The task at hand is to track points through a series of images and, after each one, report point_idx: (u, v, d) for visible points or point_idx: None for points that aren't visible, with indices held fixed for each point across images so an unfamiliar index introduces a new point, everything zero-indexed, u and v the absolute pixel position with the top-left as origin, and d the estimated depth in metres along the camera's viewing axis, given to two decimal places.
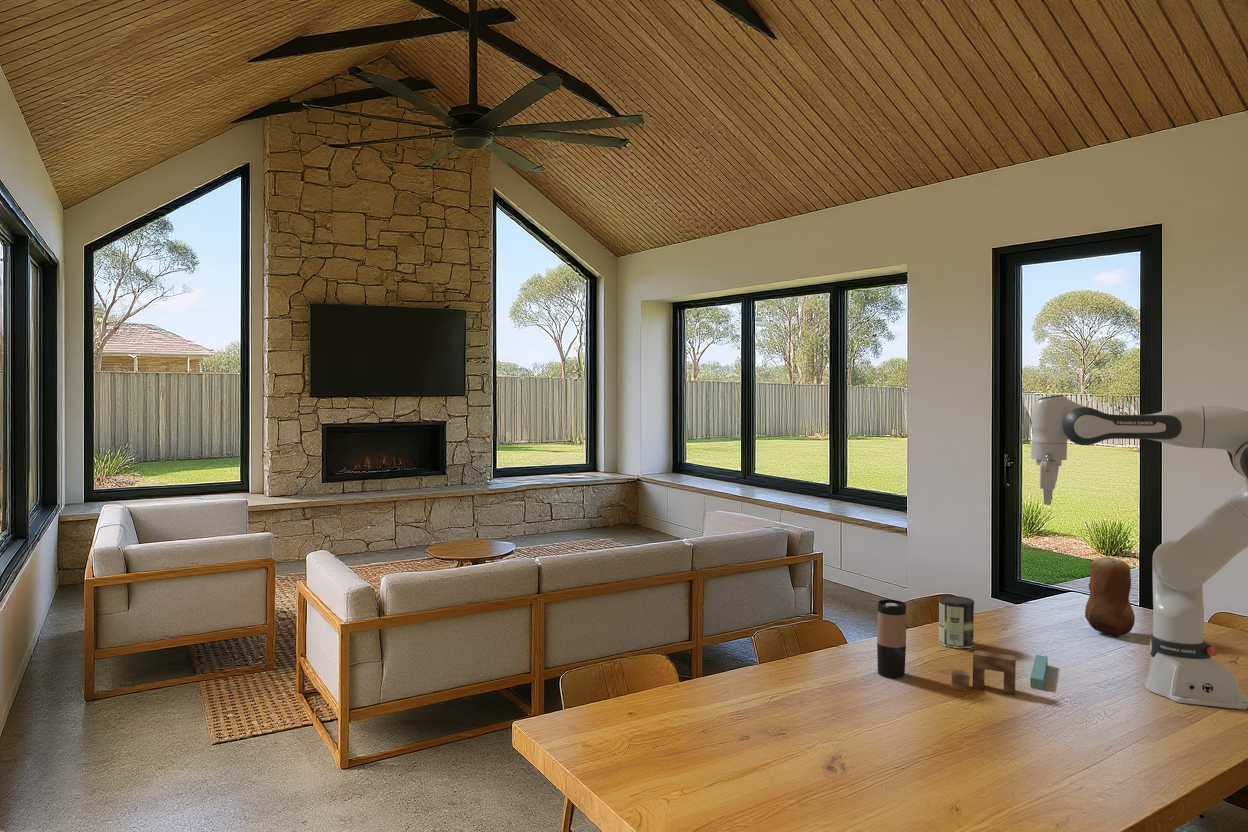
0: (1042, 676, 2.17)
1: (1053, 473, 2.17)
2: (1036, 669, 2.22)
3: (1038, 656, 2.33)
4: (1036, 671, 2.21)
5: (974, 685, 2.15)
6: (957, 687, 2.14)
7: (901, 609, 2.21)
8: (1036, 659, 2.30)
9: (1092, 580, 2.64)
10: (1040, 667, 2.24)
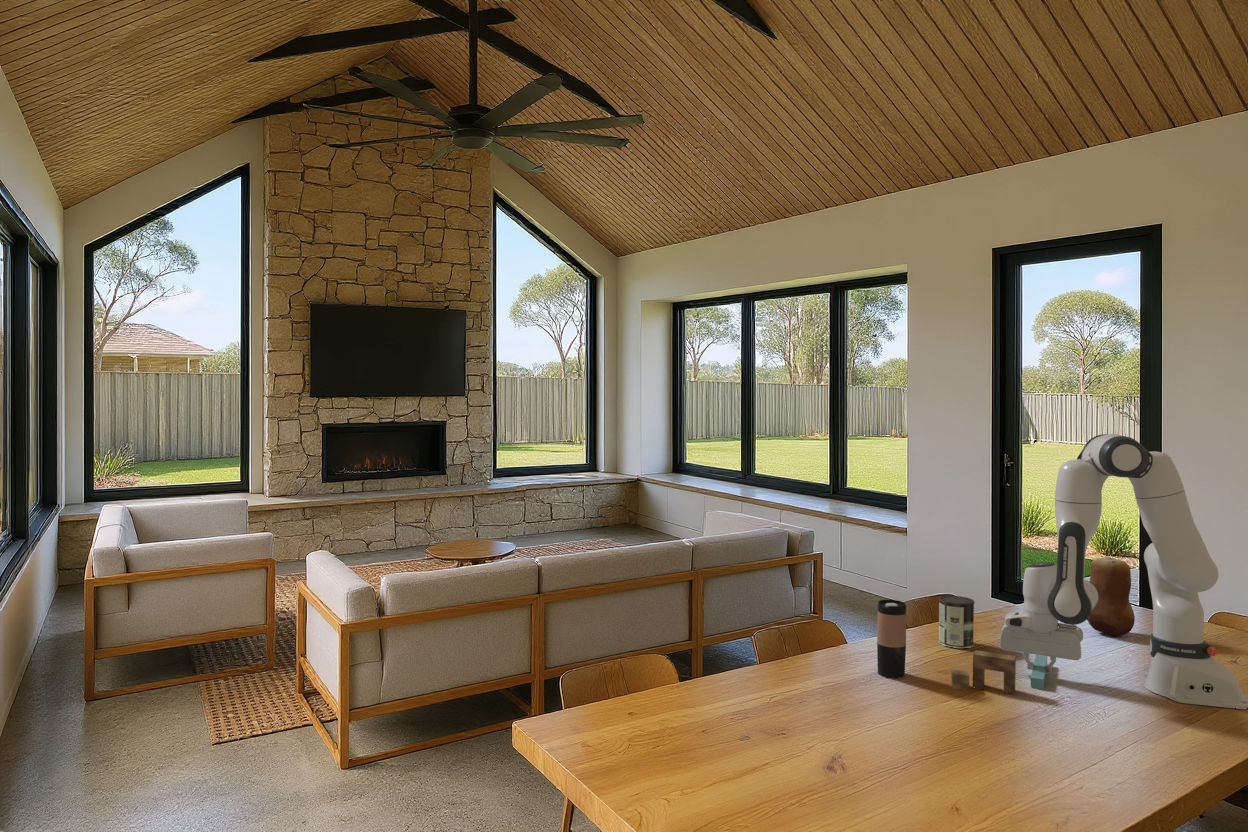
0: (1043, 676, 2.16)
1: None
2: (1036, 668, 2.22)
3: (1038, 656, 2.33)
4: (1036, 671, 2.21)
5: (974, 685, 2.15)
6: (957, 687, 2.14)
7: (901, 609, 2.21)
8: (1036, 659, 2.30)
9: (1092, 580, 2.64)
10: (1040, 667, 2.24)
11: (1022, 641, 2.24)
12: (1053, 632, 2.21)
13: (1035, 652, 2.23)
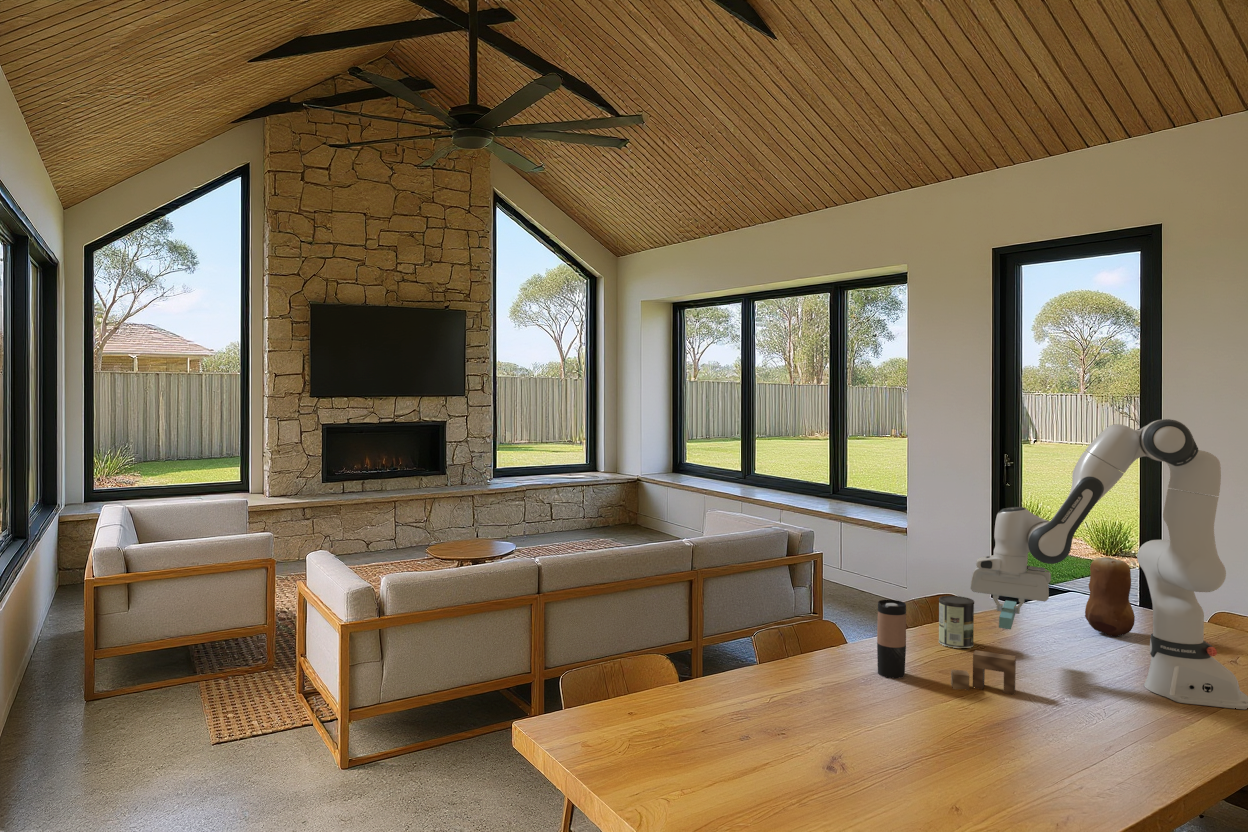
0: (1011, 616, 2.23)
1: None
2: (1005, 610, 2.28)
3: (1007, 601, 2.39)
4: (1005, 612, 2.27)
5: (974, 685, 2.15)
6: (957, 687, 2.14)
7: (901, 609, 2.21)
8: (1005, 603, 2.36)
9: (1092, 580, 2.64)
10: (1009, 609, 2.30)
11: (992, 583, 2.31)
12: (1022, 574, 2.27)
13: (1004, 593, 2.29)
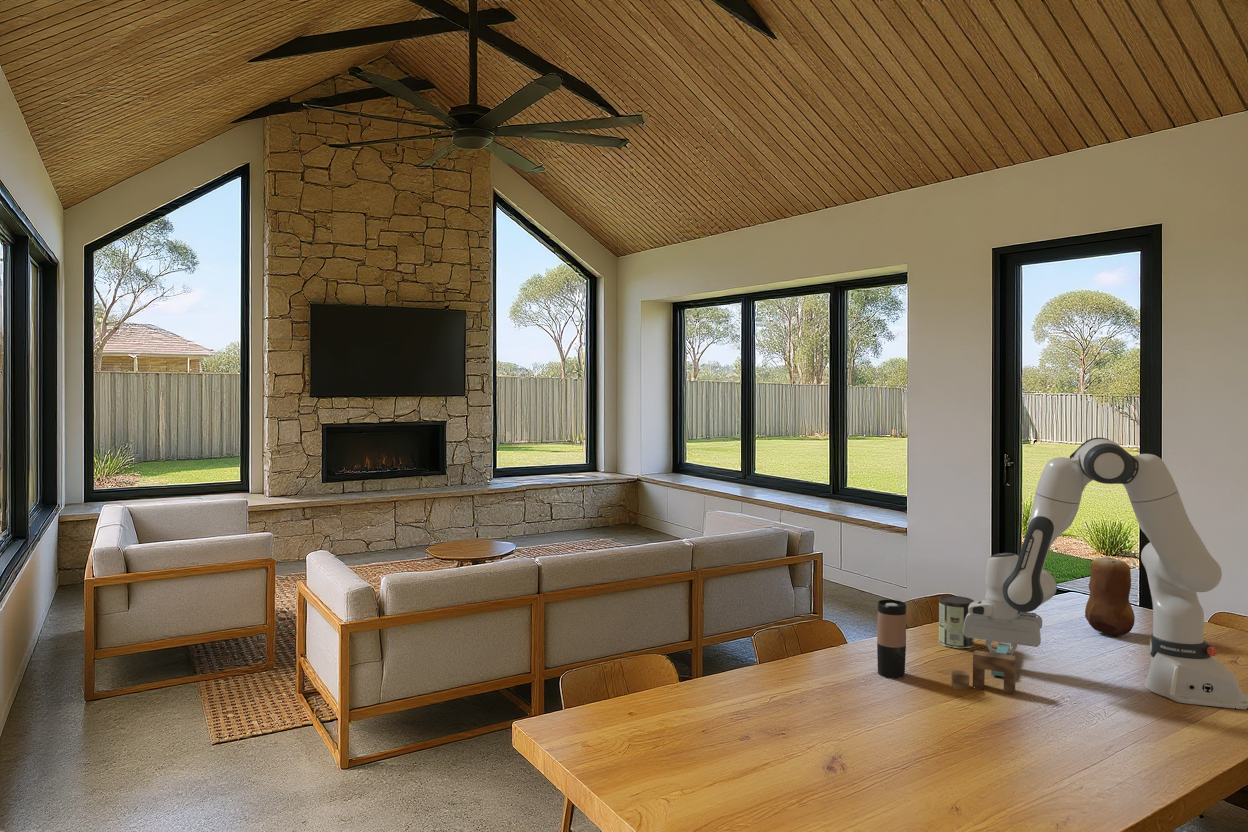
0: None
1: None
2: None
3: (1001, 644, 2.41)
4: None
5: (974, 685, 2.15)
6: (957, 687, 2.14)
7: (901, 609, 2.21)
8: (998, 647, 2.38)
9: (1092, 580, 2.64)
10: None
11: (984, 628, 2.33)
12: (1014, 620, 2.29)
13: (996, 639, 2.31)
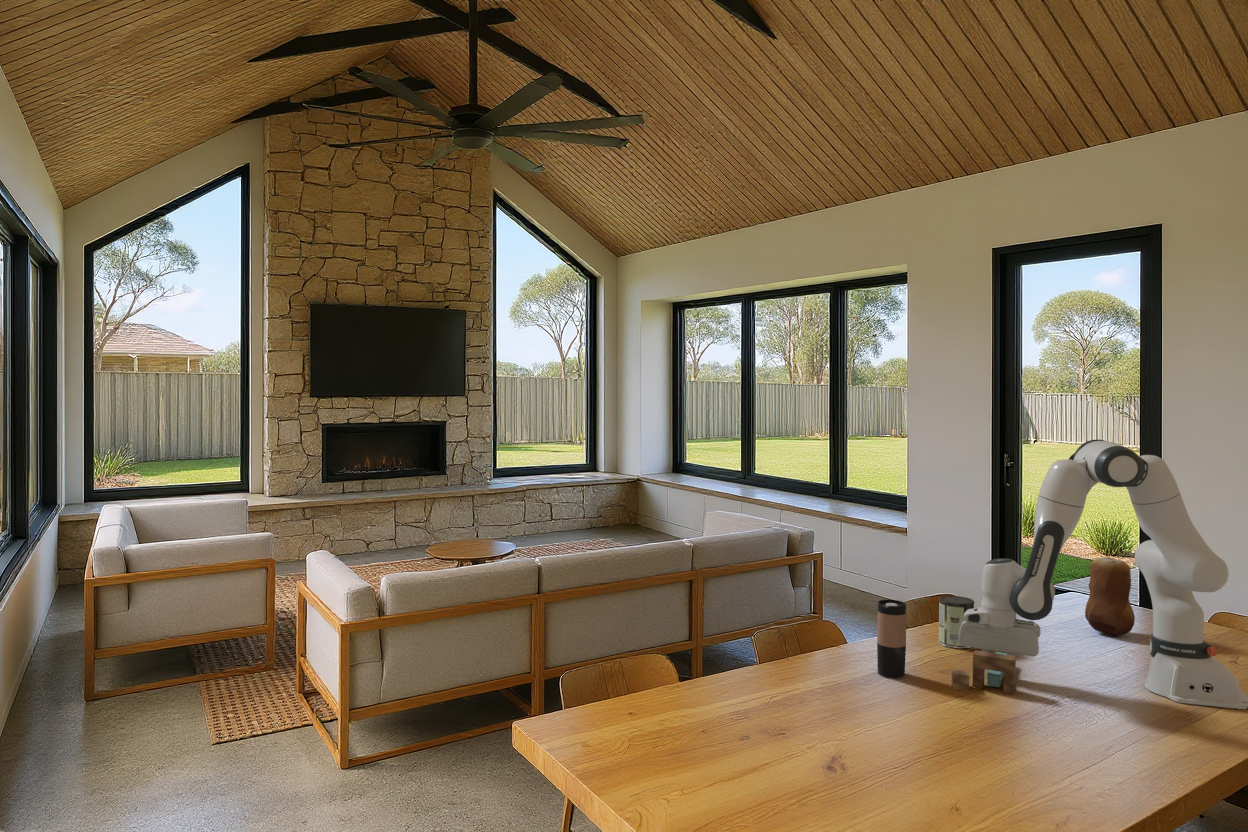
0: (999, 672, 2.16)
1: None
2: None
3: (998, 653, 2.33)
4: None
5: (974, 685, 2.15)
6: (957, 687, 2.14)
7: (901, 609, 2.21)
8: None
9: (1092, 580, 2.64)
10: None
11: (980, 637, 2.25)
12: (1011, 628, 2.21)
13: (993, 648, 2.23)
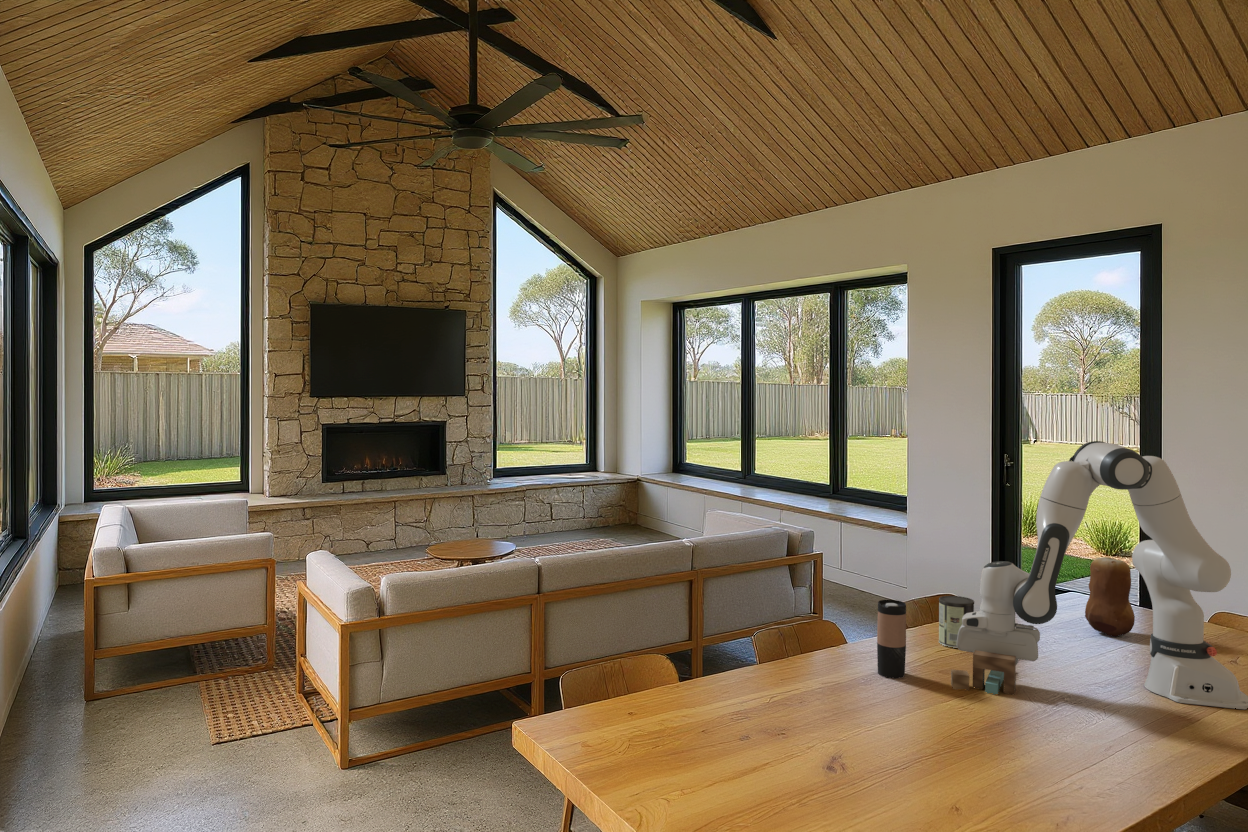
0: (998, 681, 2.13)
1: None
2: (992, 673, 2.18)
3: None
4: (992, 676, 2.17)
5: (974, 685, 2.15)
6: (957, 687, 2.14)
7: (901, 609, 2.21)
8: None
9: (1092, 580, 2.64)
10: (997, 671, 2.20)
11: (979, 641, 2.21)
12: (1010, 632, 2.17)
13: (992, 652, 2.19)
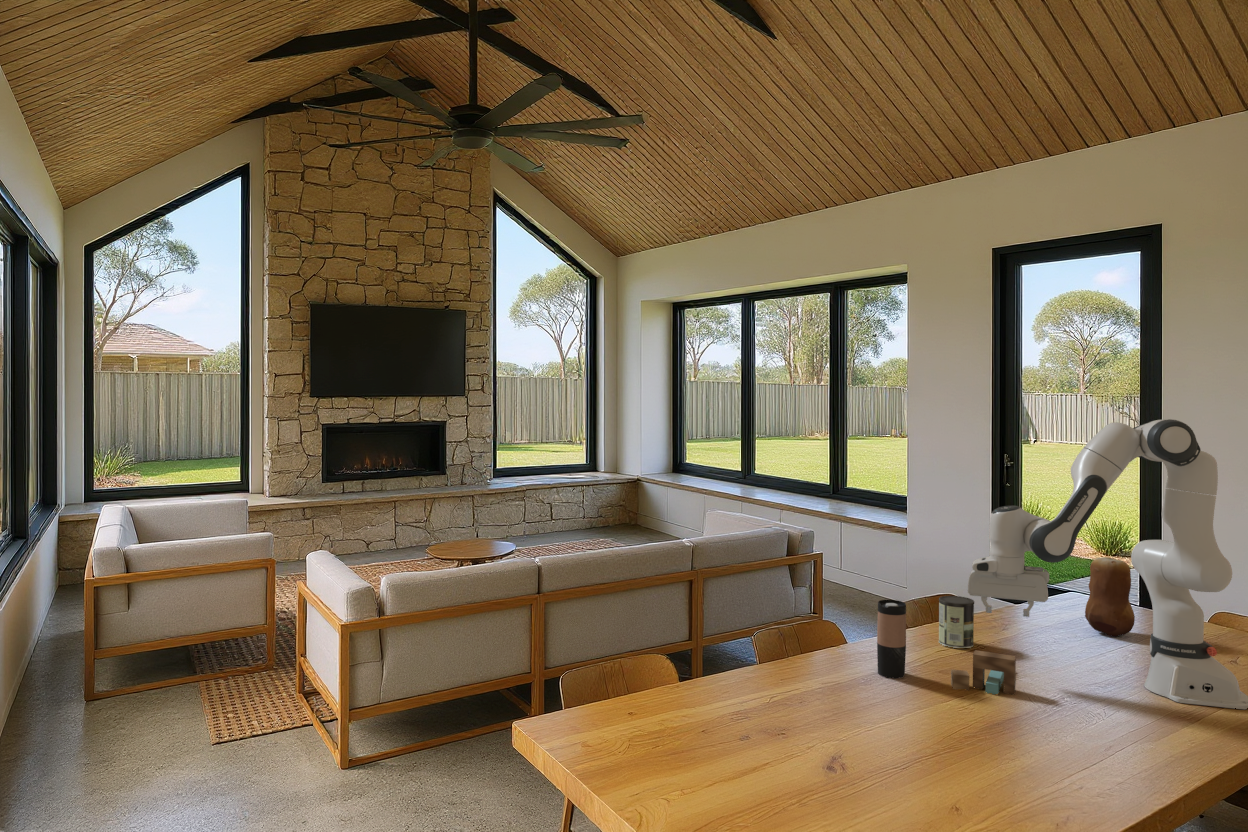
0: (998, 681, 2.13)
1: None
2: (992, 673, 2.18)
3: None
4: (993, 675, 2.17)
5: (974, 685, 2.15)
6: (957, 687, 2.14)
7: (901, 609, 2.21)
8: None
9: (1092, 580, 2.64)
10: (997, 671, 2.20)
11: (989, 585, 2.24)
12: (1020, 575, 2.20)
13: (1002, 596, 2.23)
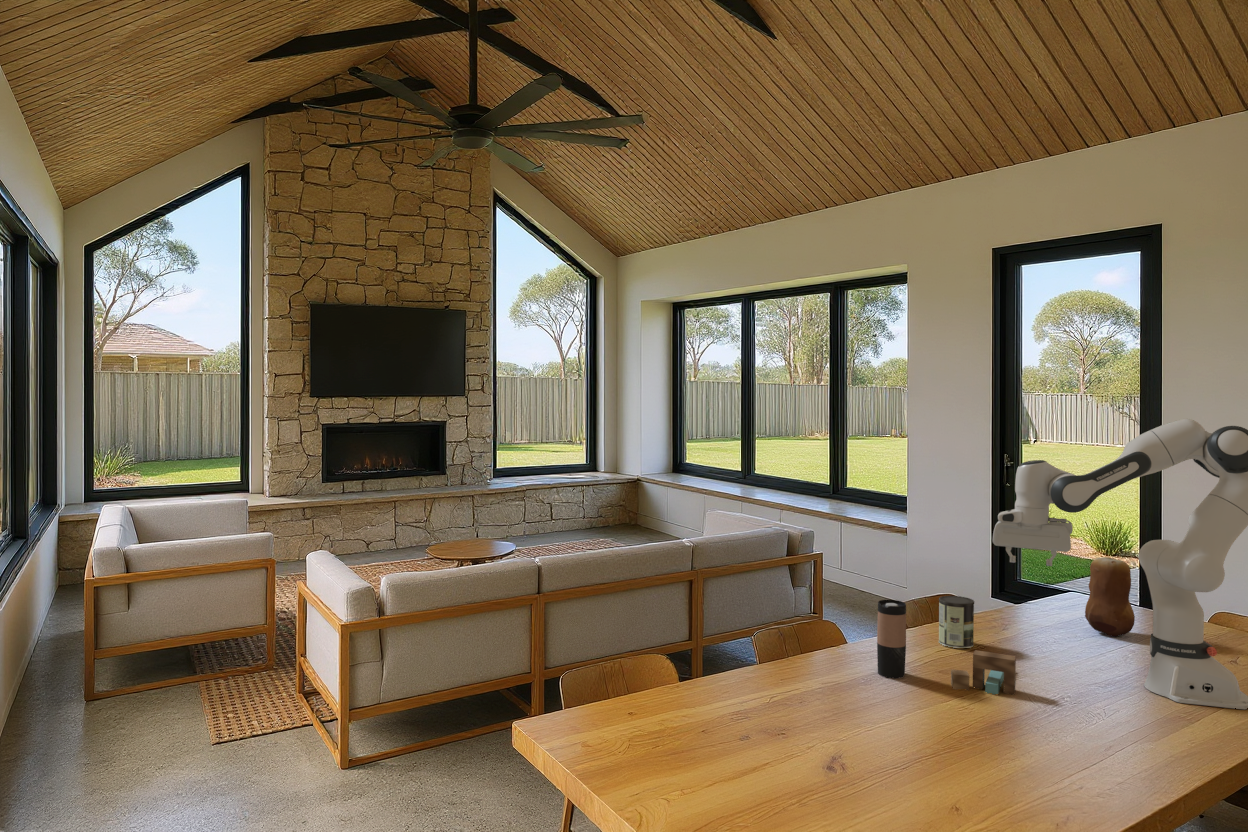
0: (998, 681, 2.13)
1: None
2: (992, 673, 2.18)
3: None
4: (992, 676, 2.17)
5: (974, 685, 2.15)
6: (957, 687, 2.14)
7: (901, 609, 2.21)
8: None
9: (1092, 580, 2.64)
10: (997, 672, 2.20)
11: (1014, 536, 2.34)
12: (1044, 526, 2.30)
13: (1026, 546, 2.32)
